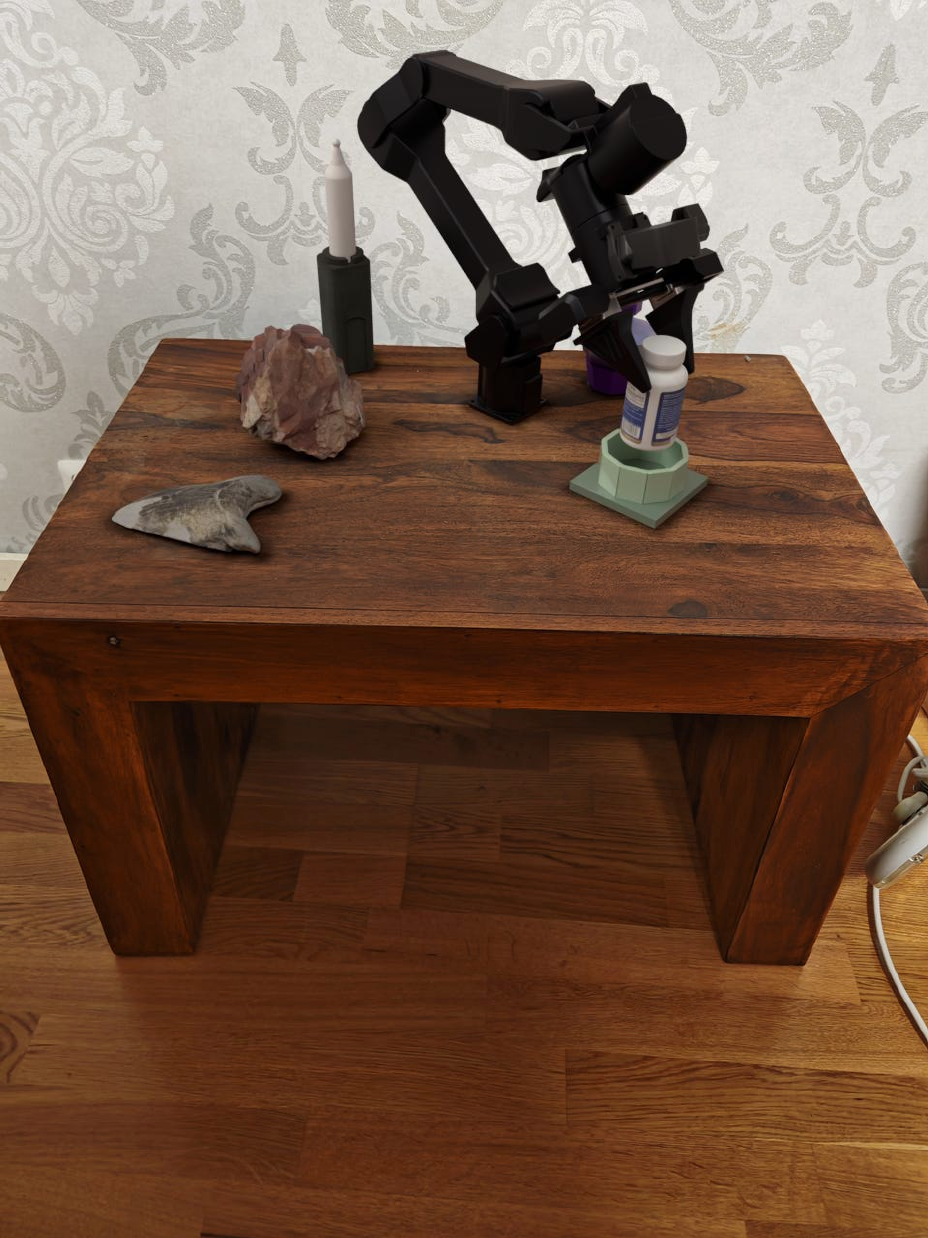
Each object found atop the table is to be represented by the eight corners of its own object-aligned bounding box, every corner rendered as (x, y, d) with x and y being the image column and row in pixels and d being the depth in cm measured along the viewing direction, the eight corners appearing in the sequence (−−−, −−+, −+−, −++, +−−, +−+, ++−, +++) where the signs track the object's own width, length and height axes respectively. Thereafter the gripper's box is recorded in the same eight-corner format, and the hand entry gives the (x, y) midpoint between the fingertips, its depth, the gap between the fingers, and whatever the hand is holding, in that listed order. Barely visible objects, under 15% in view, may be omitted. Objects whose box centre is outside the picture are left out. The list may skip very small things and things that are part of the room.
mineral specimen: (280, 500, 102) (243, 397, 109) (391, 450, 102) (346, 349, 109) (236, 439, 92) (197, 329, 98) (359, 383, 92) (312, 276, 98)
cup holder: (568, 489, 97) (573, 450, 94) (623, 450, 103) (629, 412, 100) (654, 529, 92) (662, 489, 89) (707, 485, 98) (715, 447, 95)
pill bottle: (675, 427, 95) (694, 334, 89) (674, 456, 91) (694, 361, 85) (620, 420, 96) (635, 327, 89) (617, 449, 92) (632, 354, 85)
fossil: (122, 457, 93) (274, 451, 92) (138, 493, 97) (285, 488, 95) (86, 538, 86) (251, 532, 84) (105, 574, 89) (264, 569, 88)
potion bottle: (613, 361, 118) (626, 263, 110) (663, 390, 113) (681, 290, 105) (558, 379, 114) (568, 279, 106) (608, 410, 109) (622, 308, 101)
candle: (337, 377, 113) (321, 148, 96) (321, 359, 116) (303, 134, 100) (377, 368, 115) (369, 142, 98) (361, 351, 118) (349, 129, 101)
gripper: (574, 194, 76) (654, 380, 77) (730, 154, 84) (800, 321, 86) (503, 260, 85) (575, 424, 87) (650, 218, 94) (713, 367, 95)
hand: (669, 382), depth 88 cm, fingers closed on pill bottle, 5 cm apart
